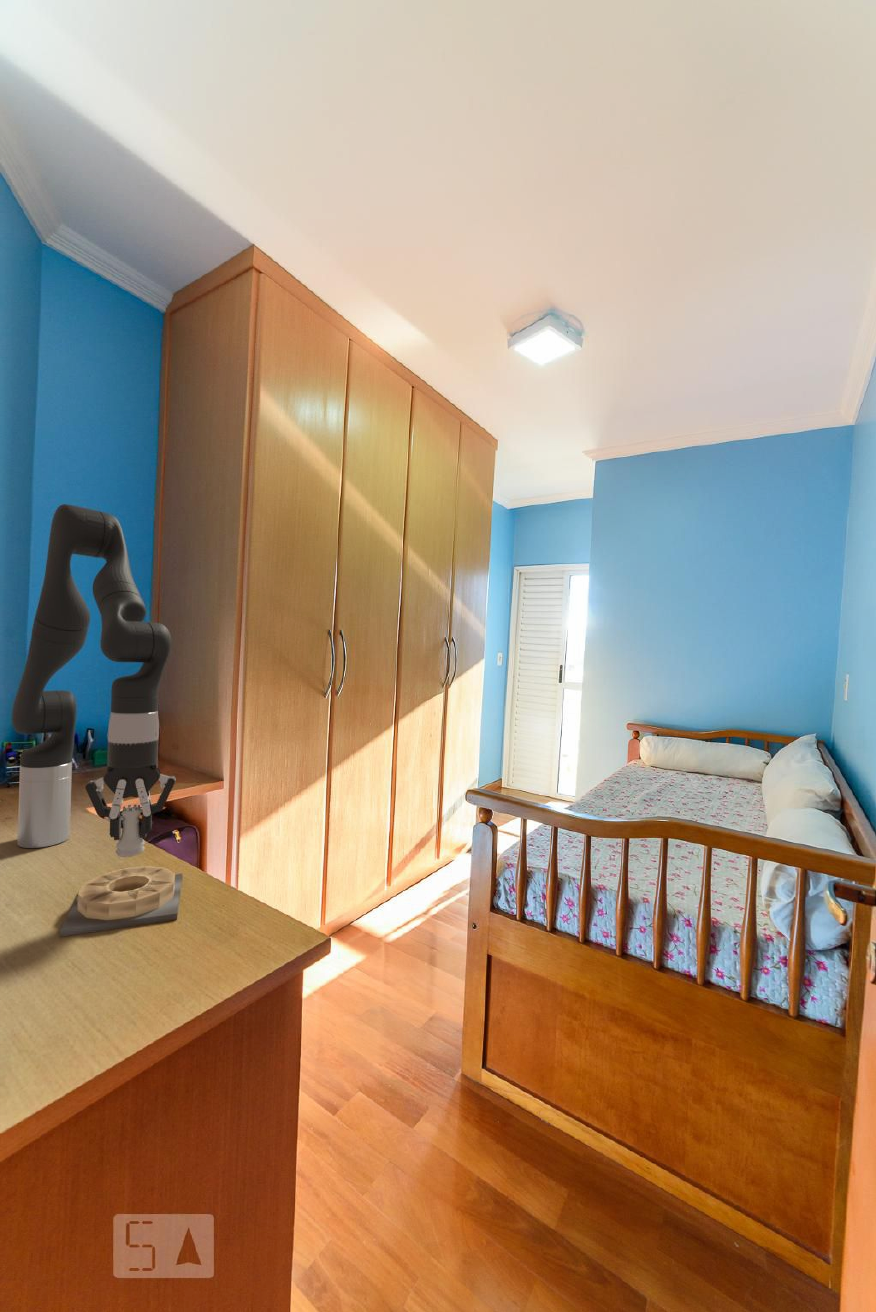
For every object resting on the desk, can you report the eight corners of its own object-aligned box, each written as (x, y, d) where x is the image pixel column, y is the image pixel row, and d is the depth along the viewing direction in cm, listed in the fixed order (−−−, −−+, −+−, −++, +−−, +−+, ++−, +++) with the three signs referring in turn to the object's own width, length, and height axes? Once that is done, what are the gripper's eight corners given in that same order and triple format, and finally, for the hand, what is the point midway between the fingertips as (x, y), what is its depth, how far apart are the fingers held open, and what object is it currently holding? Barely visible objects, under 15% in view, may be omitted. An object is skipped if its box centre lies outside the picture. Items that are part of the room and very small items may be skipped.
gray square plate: (83, 890, 94) (84, 870, 94) (182, 878, 101) (183, 859, 101) (59, 936, 80) (60, 913, 80) (177, 919, 86) (177, 897, 86)
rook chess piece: (131, 859, 87) (132, 811, 87) (108, 856, 88) (109, 808, 88) (151, 849, 92) (152, 804, 92) (129, 846, 93) (130, 801, 92)
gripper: (180, 733, 96) (177, 826, 96) (90, 735, 90) (86, 834, 91) (178, 740, 89) (175, 840, 89) (79, 743, 83) (76, 850, 84)
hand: (130, 837), depth 90 cm, fingers closed on rook chess piece, 3 cm apart
